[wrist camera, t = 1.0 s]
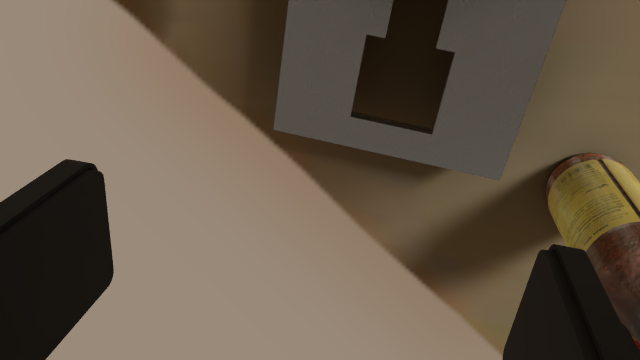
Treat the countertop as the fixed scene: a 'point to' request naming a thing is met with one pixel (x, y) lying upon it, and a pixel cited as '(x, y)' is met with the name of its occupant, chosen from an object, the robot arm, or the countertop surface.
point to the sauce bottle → (602, 225)
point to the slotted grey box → (459, 90)
